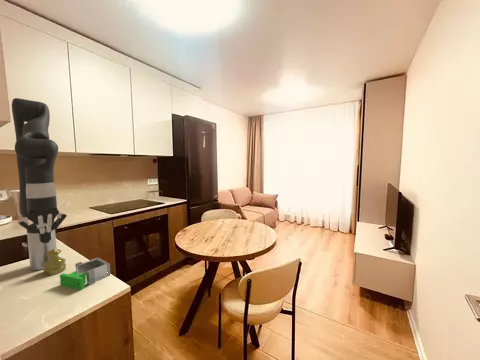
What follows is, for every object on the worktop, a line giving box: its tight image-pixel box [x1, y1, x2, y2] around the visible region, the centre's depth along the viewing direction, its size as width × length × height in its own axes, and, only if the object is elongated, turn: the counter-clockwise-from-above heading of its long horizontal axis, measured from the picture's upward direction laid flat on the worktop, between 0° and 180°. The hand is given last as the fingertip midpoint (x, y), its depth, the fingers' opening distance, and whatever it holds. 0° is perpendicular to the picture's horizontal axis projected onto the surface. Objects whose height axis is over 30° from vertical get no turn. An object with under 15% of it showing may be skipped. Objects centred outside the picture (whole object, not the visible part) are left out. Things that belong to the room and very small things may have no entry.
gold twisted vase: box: [42, 248, 67, 276], centre depth 89 cm, size 7×7×10 cm
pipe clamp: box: [59, 270, 86, 291], centre depth 79 cm, size 11×4×5 cm, turn 74°
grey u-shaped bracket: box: [74, 257, 112, 286], centre depth 85 cm, size 13×8×5 cm, turn 58°
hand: (45, 242), depth 72 cm, fingers closed
